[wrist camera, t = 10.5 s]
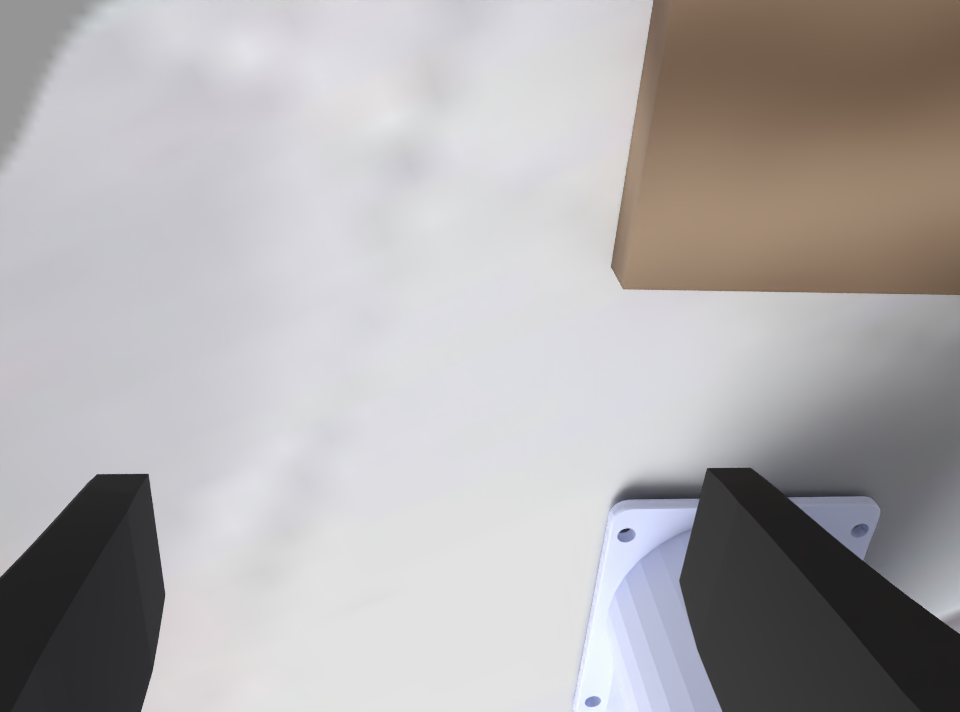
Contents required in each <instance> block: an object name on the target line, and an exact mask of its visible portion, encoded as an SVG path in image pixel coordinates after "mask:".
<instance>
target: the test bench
mask: <svg viewBox="0 0 960 712" xmlns="http://www.w3.org/2000/svg"><path fill="white" fill-rule="evenodd" d="M611 268H612V269H613V271H614V273H615V275H616V277H617V279H618V281H619V282H620V284H621V286H622V288H623V289H639V290H699V291H760V292H820V293H881V294H941V295H960V0H654V2H653V8H652V14H651V20H650V27H649V33H648V39H647V45H646V52H645V58H644V64H643V70H642V77H641V83H640V89H639V95H638V102H637V108H636V114H635V120H634V127H633V133H632V139H631V145H630V152H629V158H628V164H627V170H626V177H625V183H624V189H623V195H622V202H621V208H620V214H619V220H618V227H617V233H616V239H615V245H614V252H613V258H612V264H611Z"/></svg>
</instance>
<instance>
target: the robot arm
mask: <svg viewBox="0 0 960 712" xmlns="http://www.w3.org/2000/svg"><path fill="white" fill-rule="evenodd" d="M880 513H881V510H880V508H879V506H878V505H877V503H876V502H875V501H874V500H873V499H872V498H870V497H866V496H846V497H786V496H785V495H784V494H783V493H781V492H780V491H779V490H778V489H777V488H775V487H774V486H773V485H772V484H771V483H769V482H768V481H767V480H766V479H764V478H763V477H762V476H761V475H759V474H758V473H757V472H755V471H754V470H753V469H751V468H707V471H706V475H705V479H704V483H703V487H702V491H701V495H700V499H641V500H624V501H621V502H619V503H617V504H615V505H614V506H613V507H612V508H611V510H610V512H609V516H608V521H607V527H606V532H605V537H604V543H603V548H602V554H601V559H600V564H599V570H598V575H597V580H596V586H595V591H594V596H593V602H592V607H591V612H590V618H589V623H588V628H587V634H586V639H585V644H584V650H583V655H582V661H581V666H580V671H579V677H578V682H577V687H576V693H575V698H574V703H573V709H572V712H960V634H959V633H958V632H956V631H955V630H953V629H952V628H950V627H949V626H948V625H946V624H945V623H944V622H942V621H941V620H939V619H938V618H937V617H935V616H934V615H933V614H931V613H930V612H929V611H927V610H926V609H925V608H923V607H922V606H920V605H919V604H918V603H916V602H915V601H914V600H912V599H911V598H910V597H908V596H907V595H906V594H904V593H903V592H902V591H900V590H899V589H898V588H897V587H895V586H894V585H893V584H891V583H890V582H889V581H888V580H886V579H885V578H884V577H882V576H881V575H880V574H879V573H877V572H876V571H875V570H874V569H872V568H871V567H870V566H869V565H867V564H866V563H865V562H864V561H863V560H864V557H865V554H866V552H867V549H868V546H869V544H870V541H871V539H872V536H873V533H874V531H875V528H876V526H877V523H878V520H879V518H880ZM859 524H860V525H859ZM857 525H859V526H857ZM855 526H857V527H856V528H854V527H855ZM626 528H630V530H629V531H627V532H624V533H619V532H620V531H621V530H623V529H626ZM164 600H165V589H164V582H163V575H162V568H161V561H160V554H159V546H158V539H157V532H156V525H155V518H154V510H153V503H152V496H151V489H150V482H149V475H148V474H97V475H96V476H95V477H94V478H93V479H92V480H90V481H89V482H88V483H87V484H86V486H85V487H84V488H83V489H82V490H81V491H80V492H79V493H78V494H77V495H76V497H75V498H74V499H73V500H72V501H71V502H70V503H69V504H68V505H67V507H66V508H65V509H64V510H63V511H62V512H61V513H60V514H59V515H58V517H57V518H56V519H55V520H54V521H53V522H52V523H51V524H50V525H49V527H48V528H47V529H46V530H45V531H44V532H43V533H42V534H41V535H40V536H39V537H38V538H37V540H36V541H35V542H34V543H33V544H32V545H31V546H30V547H29V548H28V549H27V550H26V551H25V552H24V554H23V555H22V556H21V557H20V558H19V559H18V560H17V561H16V562H15V563H14V564H13V565H12V566H11V567H10V568H9V569H8V570H7V571H6V572H5V573H4V574H3V575H2V576H1V577H0V712H141V709H142V706H143V702H144V699H145V696H146V692H147V689H148V685H149V682H150V678H151V675H152V671H153V666H154V660H155V655H156V649H157V643H158V638H159V631H160V625H161V619H162V612H163V606H164Z"/></svg>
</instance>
